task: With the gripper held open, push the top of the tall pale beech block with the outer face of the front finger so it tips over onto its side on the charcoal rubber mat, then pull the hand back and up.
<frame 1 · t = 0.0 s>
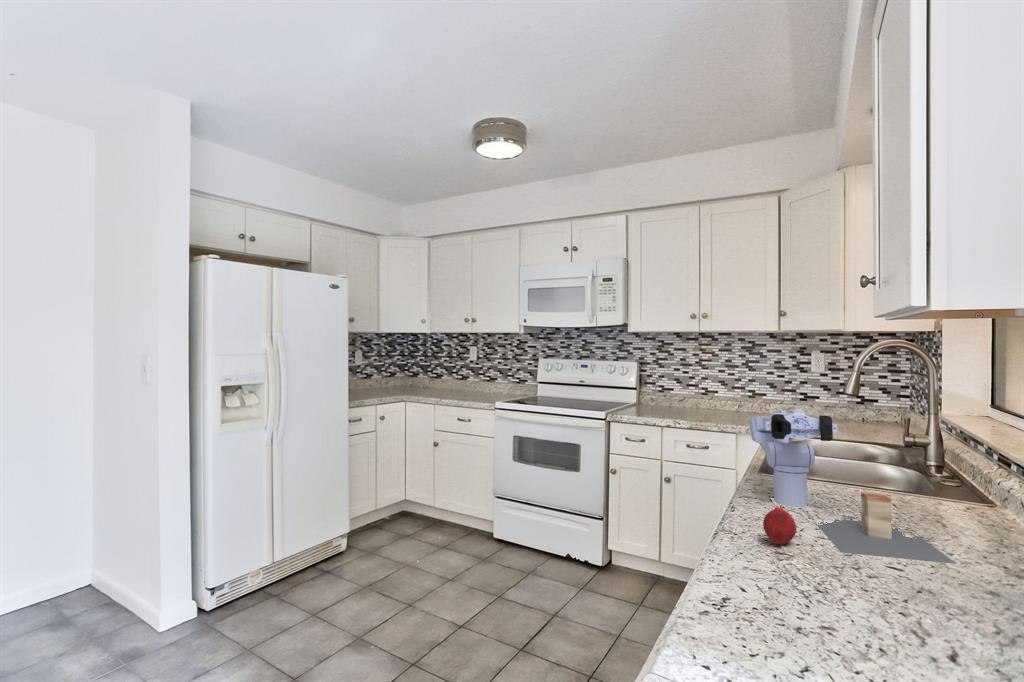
hand: (809, 428, 110), 22 cm above the worktop, tool horizontal, fingers open, 7 cm apart
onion: (779, 546, 101), on the worktop
mat: (874, 539, 104), on the worktop
block: (876, 534, 106), resting on mat
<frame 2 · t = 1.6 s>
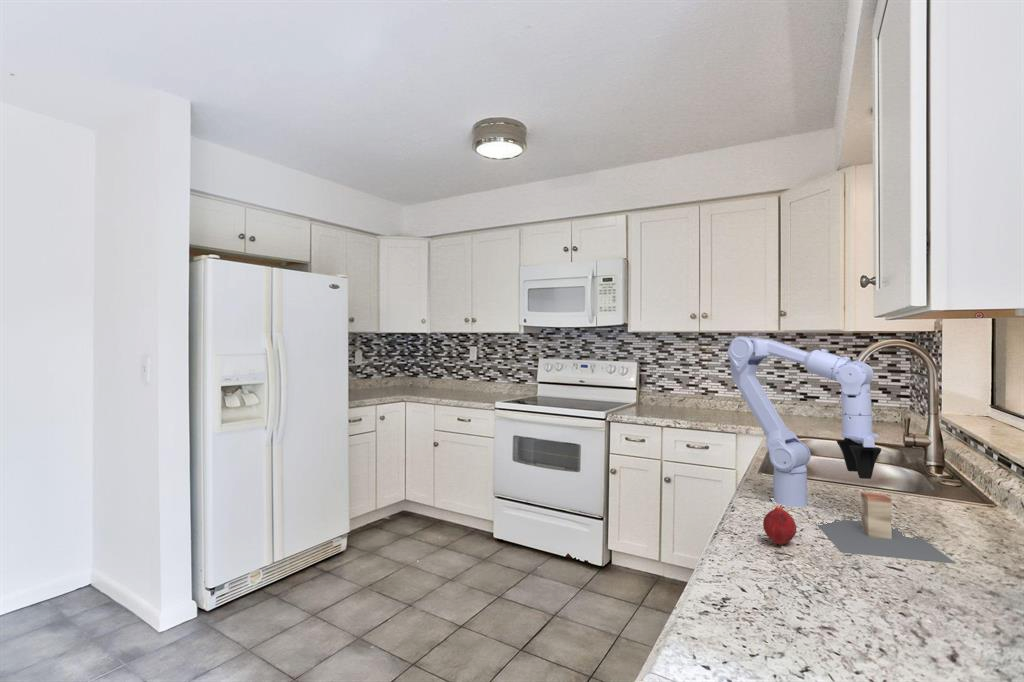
hand: (859, 474, 116), 10 cm above the worktop, tool pointing down, fingers open, 7 cm apart
nothing on the worktop moved.
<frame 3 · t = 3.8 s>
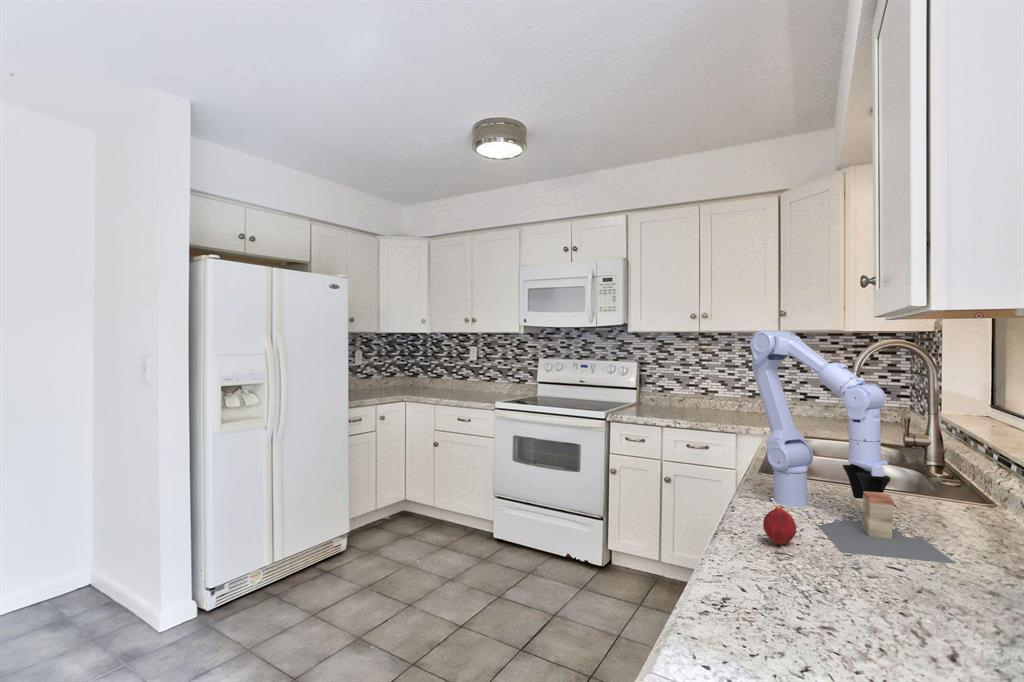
hand: (865, 502, 112), 5 cm above the worktop, tool pointing down, fingers open, 7 cm apart
block: (876, 532, 106), point 1 cm above the worktop, tilted 10°, touching mat
everything else where it was.
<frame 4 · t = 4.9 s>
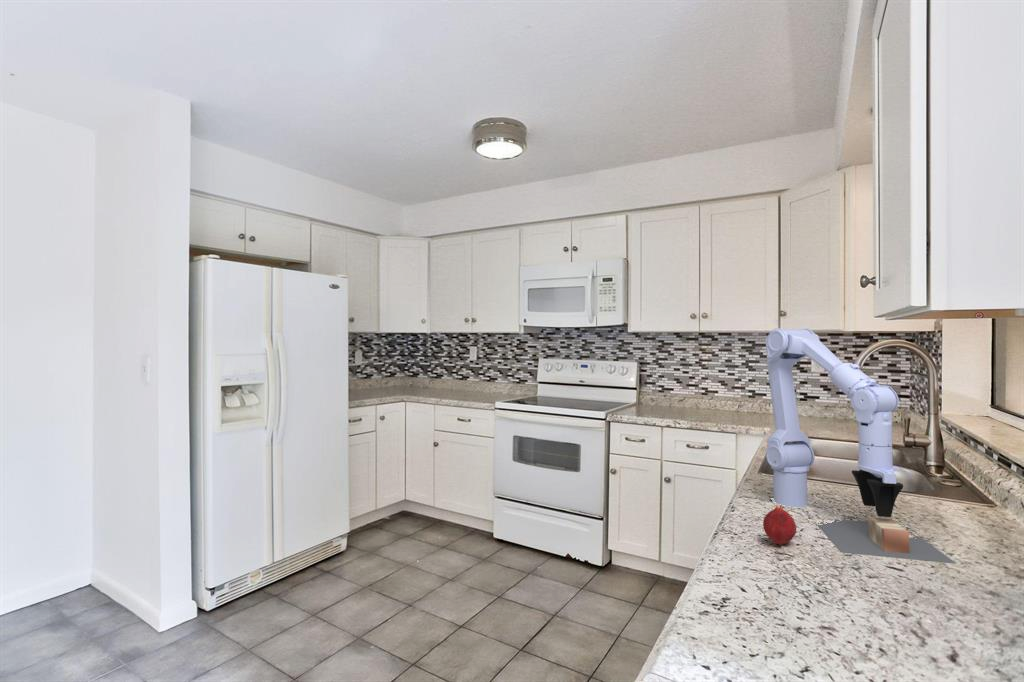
hand: (876, 510, 106), 5 cm above the worktop, tool pointing down, fingers open, 7 cm apart
block: (879, 527, 104), point 2 cm above the worktop, tilted 90°, touching mat
everything else where it was.
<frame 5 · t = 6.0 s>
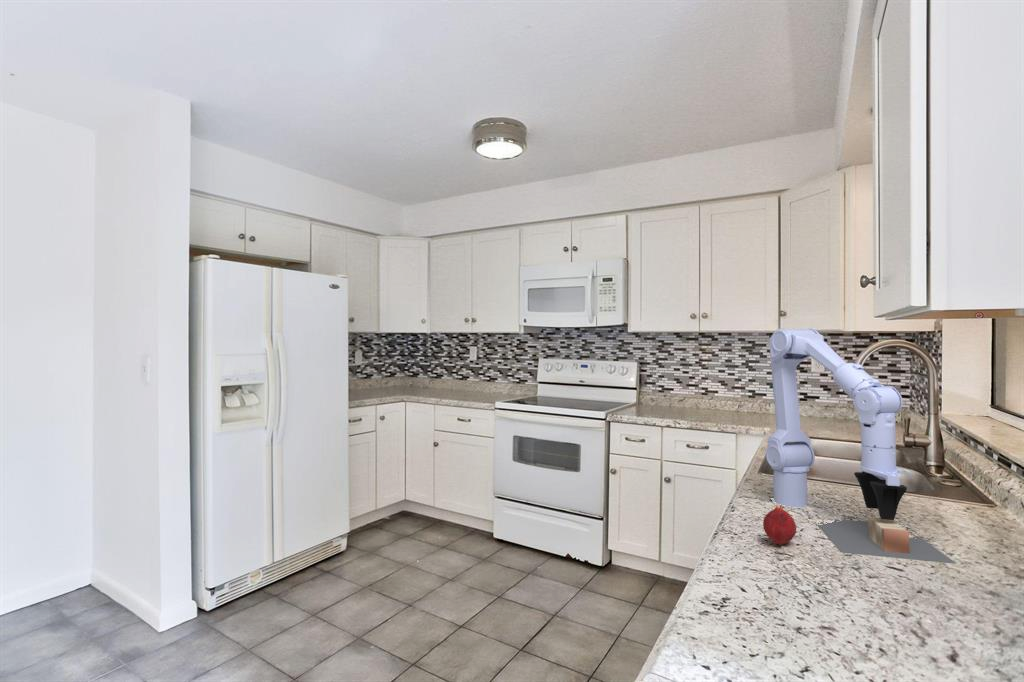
hand: (879, 513, 104), 5 cm above the worktop, tool pointing down, fingers open, 7 cm apart
nothing on the worktop moved.
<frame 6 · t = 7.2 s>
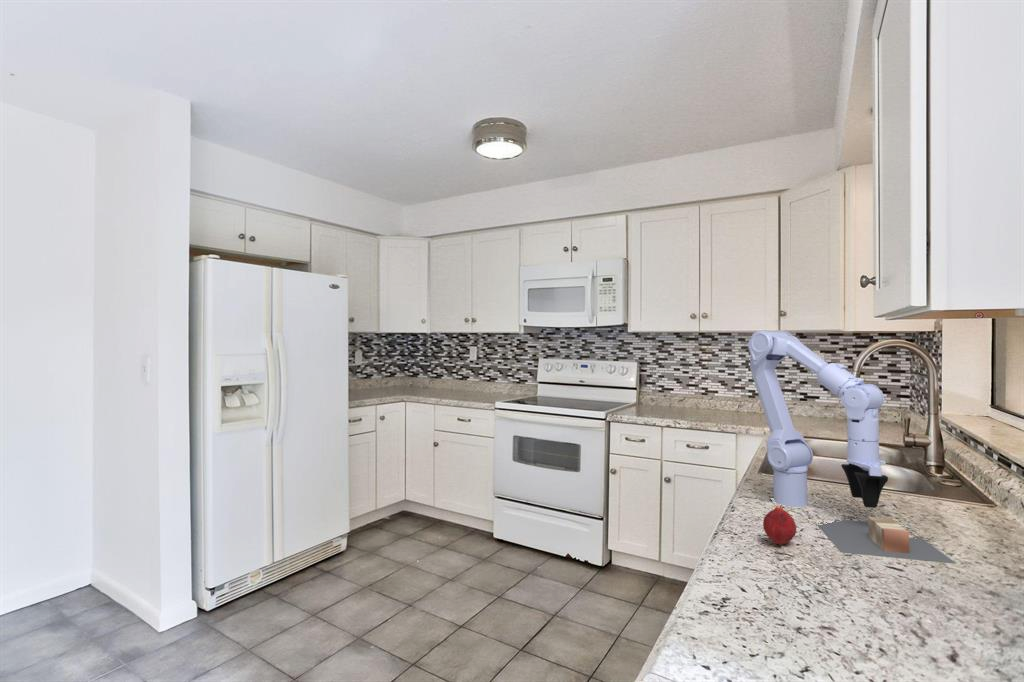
hand: (863, 502, 112), 5 cm above the worktop, tool pointing down, fingers open, 7 cm apart
nothing on the worktop moved.
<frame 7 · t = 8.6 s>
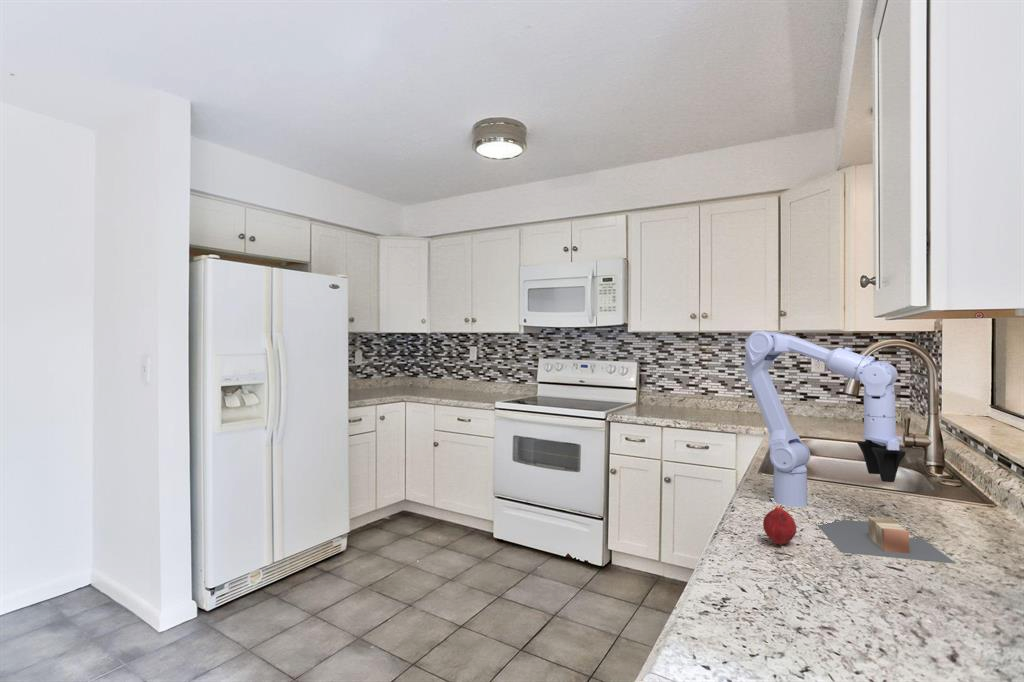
hand: (880, 477, 114), 10 cm above the worktop, tool pointing down, fingers open, 7 cm apart
nothing on the worktop moved.
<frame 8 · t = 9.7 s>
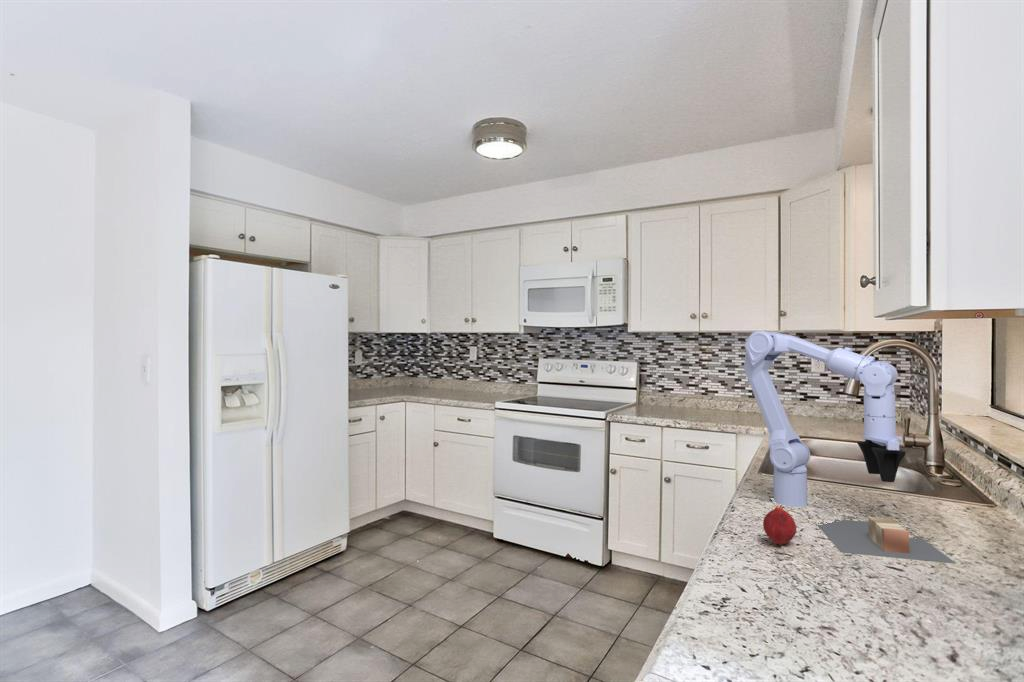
hand: (880, 477, 114), 10 cm above the worktop, tool pointing down, fingers open, 7 cm apart
nothing on the worktop moved.
at the end: block tilted 90°; block inside the target area (2.0 cm from its centre), point 2.5 cm above the worktop; the gripper is holding nothing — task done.
